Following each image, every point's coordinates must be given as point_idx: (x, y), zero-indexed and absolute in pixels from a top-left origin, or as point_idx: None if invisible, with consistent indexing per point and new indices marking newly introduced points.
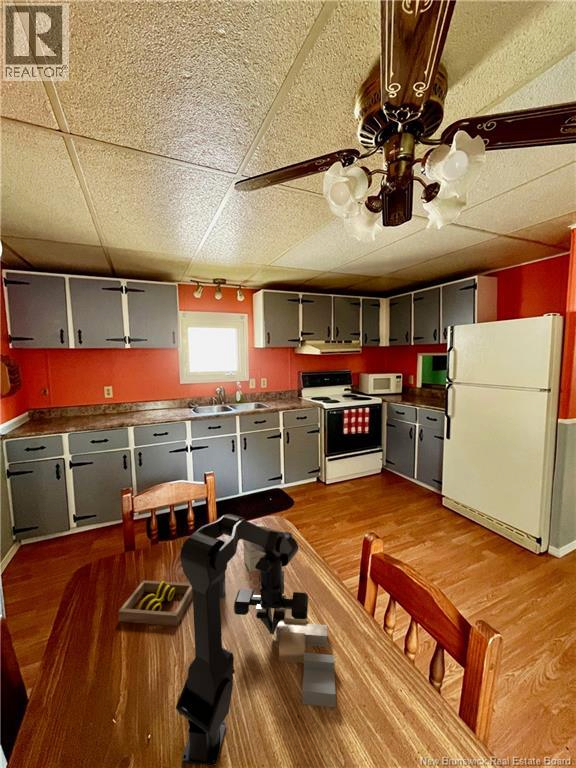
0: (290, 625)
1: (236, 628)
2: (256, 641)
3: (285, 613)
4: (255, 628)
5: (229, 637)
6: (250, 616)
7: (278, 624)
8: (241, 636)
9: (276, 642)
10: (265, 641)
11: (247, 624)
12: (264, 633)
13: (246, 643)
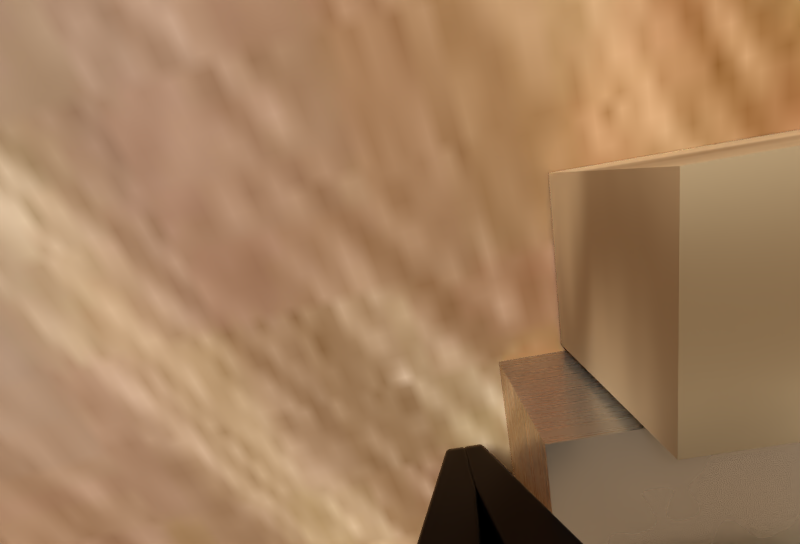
0: (756, 457)
1: (50, 433)
2: (320, 502)
3: (707, 356)
4: (244, 385)
5: (51, 527)
6: (102, 255)
7: (566, 481)
8: (154, 494)
9: (515, 474)
10: (404, 483)
11: (132, 363)
12: (362, 413)
13: (239, 538)
